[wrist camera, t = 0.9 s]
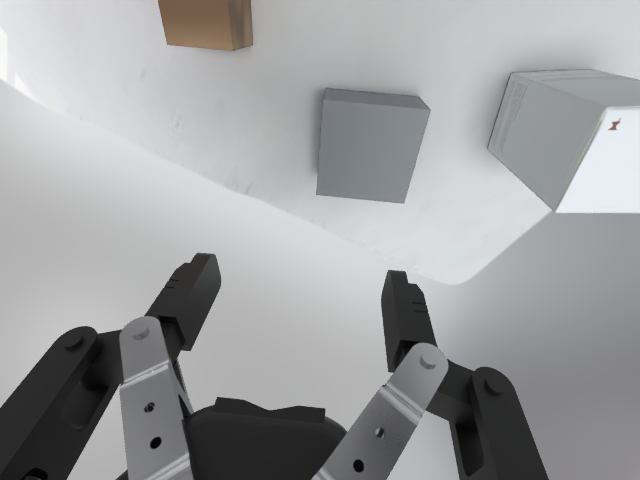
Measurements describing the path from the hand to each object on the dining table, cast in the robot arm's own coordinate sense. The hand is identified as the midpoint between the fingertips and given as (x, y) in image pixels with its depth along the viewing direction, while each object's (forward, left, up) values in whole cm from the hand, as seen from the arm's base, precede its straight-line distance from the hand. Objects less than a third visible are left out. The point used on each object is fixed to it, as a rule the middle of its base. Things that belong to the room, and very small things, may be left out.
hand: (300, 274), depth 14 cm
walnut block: (-10, -10, -22) cm, 26 cm away
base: (0, +4, -22) cm, 22 cm away
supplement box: (-4, +20, -22) cm, 30 cm away
